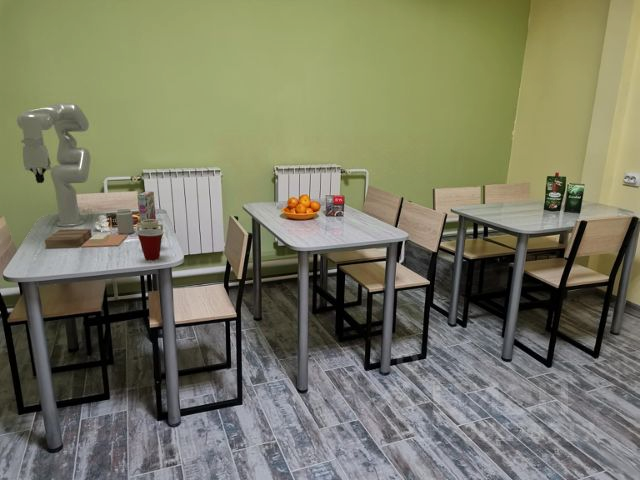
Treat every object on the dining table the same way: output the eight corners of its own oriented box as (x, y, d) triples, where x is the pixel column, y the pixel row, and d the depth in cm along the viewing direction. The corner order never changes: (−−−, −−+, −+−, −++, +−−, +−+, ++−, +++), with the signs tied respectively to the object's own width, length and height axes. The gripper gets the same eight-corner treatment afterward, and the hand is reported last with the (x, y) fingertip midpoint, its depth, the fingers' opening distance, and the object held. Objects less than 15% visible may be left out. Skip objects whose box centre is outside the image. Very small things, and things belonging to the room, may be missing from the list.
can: (127, 235, 236) (124, 211, 232) (114, 234, 238) (112, 210, 235) (137, 231, 243) (135, 208, 239) (125, 230, 245) (122, 207, 242)
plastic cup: (169, 259, 201) (167, 232, 198) (143, 264, 195) (140, 236, 192) (161, 253, 209) (159, 226, 206) (136, 257, 204) (133, 230, 200)
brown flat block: (61, 237, 232) (60, 229, 231) (91, 236, 234) (90, 228, 232) (46, 248, 215) (44, 240, 213) (79, 247, 216) (77, 239, 215)
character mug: (139, 252, 210) (136, 223, 206) (139, 247, 216) (136, 220, 213) (165, 249, 214) (162, 221, 210) (164, 245, 220) (161, 218, 217)
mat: (93, 236, 234) (93, 235, 234) (128, 235, 236) (127, 234, 236) (81, 247, 217) (81, 246, 216) (118, 246, 219) (118, 244, 219)
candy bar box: (149, 225, 255) (146, 195, 251) (139, 225, 256) (136, 194, 251) (156, 220, 266) (154, 191, 262) (147, 220, 266) (145, 191, 262)
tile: (108, 233, 229) (109, 237, 230) (95, 234, 229) (96, 238, 229) (102, 239, 221) (103, 243, 221) (88, 239, 220) (89, 243, 221)
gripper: (12, 143, 213) (19, 184, 218) (48, 143, 215) (54, 183, 220) (20, 141, 220) (27, 181, 225) (55, 141, 222) (60, 181, 227)
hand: (40, 182), depth 223 cm, fingers closed
